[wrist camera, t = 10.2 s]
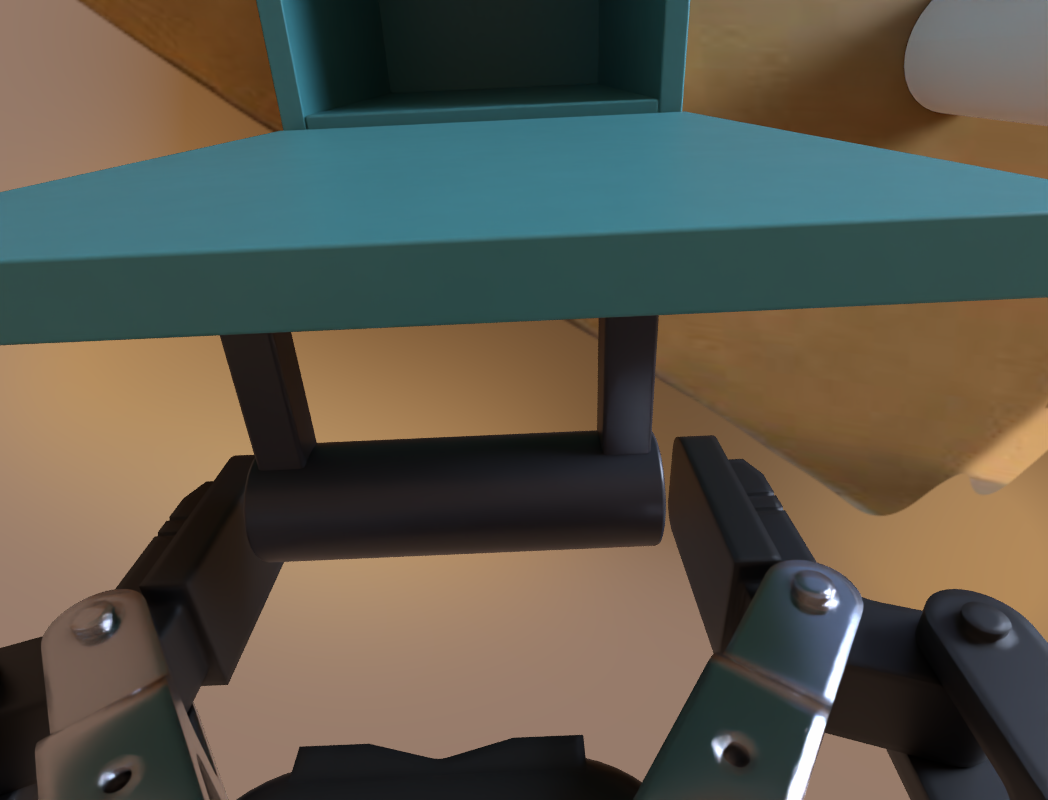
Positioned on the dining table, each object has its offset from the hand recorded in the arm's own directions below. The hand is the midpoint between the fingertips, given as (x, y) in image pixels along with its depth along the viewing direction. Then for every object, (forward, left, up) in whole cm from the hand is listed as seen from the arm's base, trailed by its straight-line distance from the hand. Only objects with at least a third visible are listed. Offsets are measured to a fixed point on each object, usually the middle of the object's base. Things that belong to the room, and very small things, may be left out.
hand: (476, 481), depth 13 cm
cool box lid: (-6, 0, -4) cm, 7 cm away
